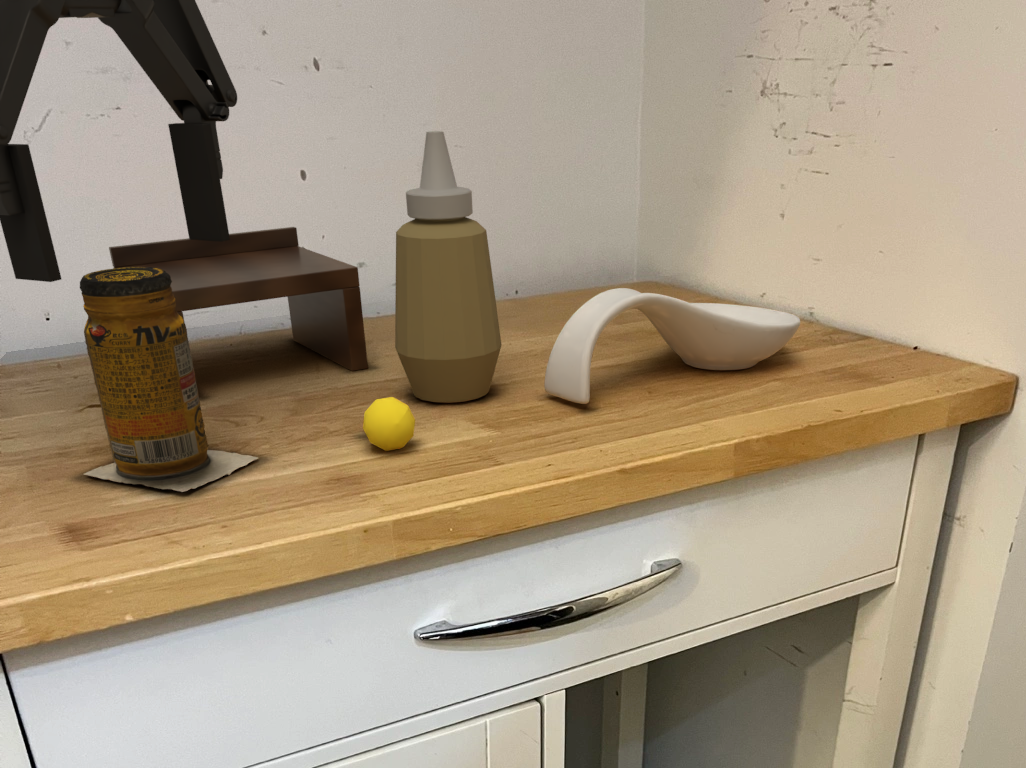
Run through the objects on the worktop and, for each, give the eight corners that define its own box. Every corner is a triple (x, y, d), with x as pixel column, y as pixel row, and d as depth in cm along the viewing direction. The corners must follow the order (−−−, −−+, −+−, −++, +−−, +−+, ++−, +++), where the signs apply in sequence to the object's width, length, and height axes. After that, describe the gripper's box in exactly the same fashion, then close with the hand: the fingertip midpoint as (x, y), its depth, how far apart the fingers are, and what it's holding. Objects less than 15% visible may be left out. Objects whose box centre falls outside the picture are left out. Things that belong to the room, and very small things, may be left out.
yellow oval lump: (388, 460, 72) (362, 410, 70) (363, 459, 77) (338, 412, 76) (430, 436, 73) (406, 386, 71) (403, 437, 78) (379, 390, 77)
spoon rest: (718, 337, 98) (724, 251, 94) (825, 361, 91) (835, 269, 87) (515, 389, 85) (512, 292, 82) (619, 422, 78) (621, 318, 74)
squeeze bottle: (418, 415, 80) (395, 139, 70) (386, 387, 86) (361, 130, 77) (519, 400, 83) (511, 132, 73) (481, 374, 89) (469, 124, 79)
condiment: (163, 443, 76) (124, 259, 69) (259, 460, 73) (228, 268, 66) (83, 477, 70) (32, 281, 64) (184, 497, 67) (141, 292, 61)
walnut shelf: (180, 401, 84) (154, 271, 79) (134, 365, 94) (108, 247, 89) (368, 368, 92) (356, 246, 86) (308, 338, 101) (294, 226, 96)
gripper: (-160, -268, 42) (-1, 305, 54) (259, -184, 61) (311, 229, 72) (-274, -244, 45) (-100, 294, 57) (158, -171, 64) (224, 224, 75)
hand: (131, 258), depth 64 cm, fingers open, 13 cm apart
